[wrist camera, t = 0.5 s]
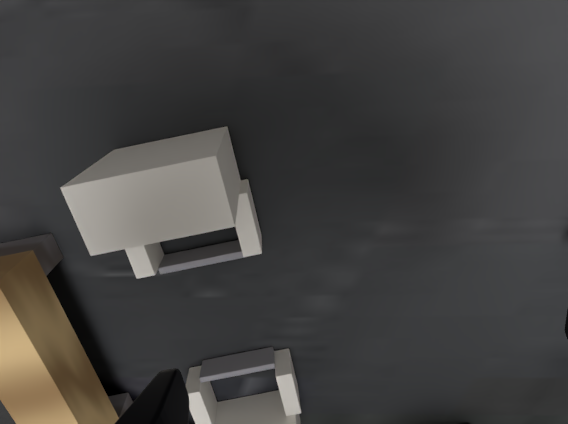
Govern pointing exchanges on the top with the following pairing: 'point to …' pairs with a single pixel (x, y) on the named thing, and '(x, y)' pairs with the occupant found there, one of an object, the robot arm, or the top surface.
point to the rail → (44, 345)
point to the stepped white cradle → (181, 223)
